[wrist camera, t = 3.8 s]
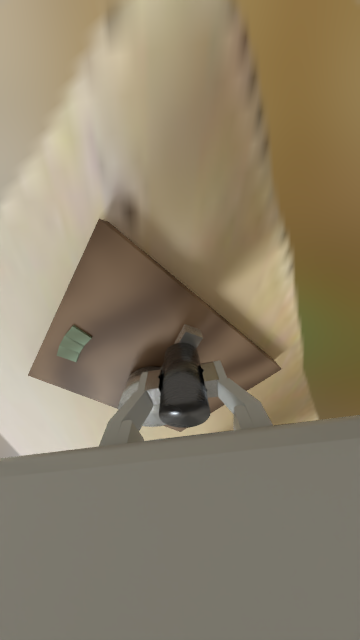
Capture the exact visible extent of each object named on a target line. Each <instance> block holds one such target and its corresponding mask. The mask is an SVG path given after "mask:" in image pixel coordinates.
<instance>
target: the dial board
mask: <svg viewBox="0 0 360 640" xmlns="http://www.w3.org/2000/svg"><path fill="white" fill-rule="evenodd" d="M184 324H186V325H189V326H191V327H194V328H197V329H199V330H201V333H202V336H203V339H202V340H201V342H200V343H199V345H198V346H197V348H196V349H197V351H198V355H199V359H200V364H201V363H207V362H213V361H219V360H220V361H221V364H222V366H223V369H224V371H225V374H226V376H227V379H228V378H230V379H231V380H232V381H234V382H235V383H236V384H237V385H239V386H240V387H241V388H243V389H244V390H245V391H247V390H249V389H250V388H252V387H253V386H255V385H257V384H258V383H260V382H262V381H263V380H265V379H266V378H268V377H270V376H271V375H273V374H274V373H276V372H278V371H279V370H281V368H280V367H279V365H278V364H277V363H276V362H275V361H274V360H273V359H272V358H271V357H270V356H268V355H267V354H266V353H265V352H264V351H262V350H261V349H260V348H259V347H258V346H256V345H255V344H254V343H253V342H252V341H250V340H249V339H248V338H247V337H246V336H244V335H243V334H242V333H241V332H240V331H238V330H237V329H236V328H235V327H234V326H232V325H231V324H230V323H229V322H228V321H226V320H225V319H224V318H223V317H222V316H220V315H219V314H218V313H217V312H216V311H214V310H213V309H212V308H211V307H210V306H208V305H207V304H206V303H205V302H204V301H202V300H201V299H200V298H199V297H198V296H196V295H195V294H194V293H193V292H192V291H190V290H189V289H188V288H187V287H186V286H184V285H183V284H182V283H181V282H180V281H178V280H177V279H176V278H175V277H174V276H172V275H171V274H170V273H169V272H168V271H166V270H165V269H164V268H163V267H162V266H160V265H159V264H158V263H157V262H156V261H154V260H153V259H152V258H151V257H150V256H148V255H147V254H146V253H145V252H144V251H142V250H141V249H140V248H139V247H138V246H136V245H135V244H134V243H133V242H132V241H130V240H129V239H128V238H127V237H126V236H124V235H123V234H122V233H121V232H120V231H118V230H117V229H116V228H115V227H114V226H112V225H111V224H110V223H109V222H107V221H104V220H101V219H99V220H98V222H97V225H96V227H95V229H94V231H93V233H92V236H91V238H90V240H89V242H88V244H87V247H86V249H85V251H84V253H83V255H82V258H81V260H80V262H79V264H78V266H77V269H76V271H75V273H74V275H73V277H72V280H71V282H70V284H69V286H68V288H67V291H66V293H65V295H64V297H63V299H62V302H61V304H60V306H59V308H58V310H57V313H56V315H55V317H54V319H53V321H52V323H51V326H50V328H49V330H48V332H47V334H46V337H45V339H44V341H43V343H42V345H41V348H40V350H39V352H38V354H37V356H36V359H35V361H34V363H33V365H32V367H31V370H30V372H29V374H28V376H31V377H34V378H37V379H39V380H42V381H45V382H47V383H50V384H53V385H55V386H58V387H61V388H63V389H66V390H69V391H72V392H74V393H77V394H80V395H82V396H85V397H88V398H90V399H93V400H96V401H98V402H101V403H104V404H107V405H109V406H112V407H115V408H117V409H118V405H119V402H120V399H121V396H122V394H123V391H124V388H125V385H126V382H127V380H128V378H129V376H130V375H131V374H132V373H133V372H134V371H136V370H138V369H140V368H144V367H150V366H155V367H162V365H163V363H164V356H165V352H166V350H167V349H168V348H169V347H170V346H171V345H173V344H174V343H175V341H176V339H177V337H178V335H179V333H180V332H181V330H182V328H183V326H184ZM208 402H209V407H210V412H211V413H212V412H213V411H215V410H216V409H218V408H220V407H221V406H223V405H225V404H224V403H223V402H222V401H221V400H220V398H219V397H211V398H208ZM163 426H166V427H169V428H171V429H174V430H177V431H179V432H181V431H183V430H184V429H186V428H178V427H172V426H169V425H163ZM187 428H188V427H187Z"/></svg>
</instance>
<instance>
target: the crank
mask: <svg viewBox="0 0 360 640" xmlns="http://www.w3.org/2000/svg"><path fill="white" fill-rule="evenodd" d="M202 339H203V336H202V333H201V330H199V329H197V328H194V327H191V326H189V325H186V324H184V326H183V328H182V330H181V332H180V333H179V335H178V337H177V339H176V341H175V343H174V344H173V345H171V346H170V347H169V348H168V349H167V350H166V352H165V356H164V363H163V365H162V367H155V366H150V367H144V368H140V369H138V370H136V371H134V372H133V373H132V374H131V375H130V376H129V378H128V380H127V382H126V385H125V388H124V391H123V394H122V396H121V399H120V402H119V405H118V410H119V409H120V408H121V407H122V406H123V405H124V404H125V402H126V401H127V400H128V399H129V398H130V397H131V396H132V394H133V393H134V392H137V389H138V385H139V381H140V378H141V374H142V372H147V371H154V370H162V371H163V376H162V386H161V396H160V405H154V406H153V408H152V410H151V412H150V413H149V415H148V417H147V418H146V420H145V422H144V423H143V425H142V426H149V427H154V426H163V425H169V426H172V427H178V428H187V427H193V426H197V425H199V424H202V423H203V422H205V421H206V420H207V419H208V418H209V416H210V413H211V412H210V407H209V402H208V397H207V393H206V388H205V385H204V380H203V374H202V370H201V365H200V359H199V355H198V351H197V349H196V348H197V346H198V345H199V343H200V342H201V340H202Z"/></svg>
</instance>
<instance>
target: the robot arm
mask: <svg viewBox="0 0 360 640" xmlns="http://www.w3.org/2000/svg"><path fill="white" fill-rule="evenodd" d="M200 365H201V370H202V374H203V380H204V385H205V388H206V393H207V397H208V398H211V397H219V398H220V400H221V401H222V402H223V403H224V404H225V405H226V406H227V407H228V408H229V410H230V411H231V412H232V413H233V414H234V430H233V431H224V432H216V433H208V434H199V435H191V436H183V437H174V438H166V439H158V440H150V441H144V439H143V437H142V435H141V434H140V433H139V430H140V428H141V427H142V425H143V423H144V422H145V420H146V418H147V417H148V415H149V413H150V412H151V410H152V408H153V406H154V405H160V396H161V386H162V376H163V371H162V370H154V371H147V372H142V374H141V378H140V381H139V385H138V389H137V392H134V393H133V394H132V396H131V397H130V398H129V399H128V400H127V401H126V402H125V404H124V405H123V406H122V407H121V408H120V409H119V410H118V411H117V413H116V414H115V415H114V416H113V417H112V418H111V419H110V421H109V422H108V424H107V427H106V429H105V432H104V435H103V437H102V440H101V442H100V445H99V447H92V448H83V449H75V450H67V451H58V452H50V453H42V454H33V455H25V456H17V457H8V458H1V459H0V640H360V415H357V416H349V417H342V418H333V419H324V420H316V421H307V422H299V423H291V424H282V425H274V426H273V424H272V423H271V421H270V419H269V417H268V415H267V413H266V412H265V410H264V408H263V406H262V404H261V402H260V401H258V400H257V399H256V398H254V397H253V396H252V395H250V394H249V393H248V392H247V391H245V390H244V389H243V388H241V387H240V386H239V385H237V384H236V383H235V382H234V381H232V380H231V379H230V378H228V379H227V376H226V374H225V371H224V369H223V366H222V364H221V361H220V360H219V361H213V362H207V363H201V364H200Z"/></svg>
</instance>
